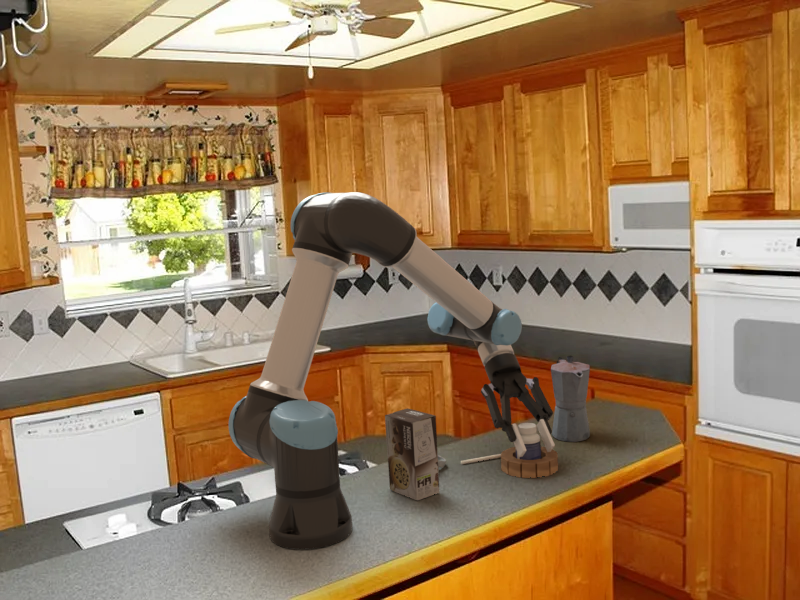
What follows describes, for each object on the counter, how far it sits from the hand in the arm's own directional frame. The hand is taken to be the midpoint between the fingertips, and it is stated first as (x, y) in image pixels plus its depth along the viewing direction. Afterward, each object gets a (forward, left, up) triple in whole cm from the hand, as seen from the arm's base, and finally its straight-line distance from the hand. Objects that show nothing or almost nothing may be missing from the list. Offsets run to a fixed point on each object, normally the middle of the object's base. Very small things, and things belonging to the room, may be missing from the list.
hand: (537, 451), depth 175 cm
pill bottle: (0, +4, -5) cm, 6 cm away
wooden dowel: (-4, +13, -5) cm, 14 cm away
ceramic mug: (-21, +15, -5) cm, 26 cm away
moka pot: (+19, +19, -5) cm, 27 cm away
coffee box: (-27, +3, -5) cm, 28 cm away
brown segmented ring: (0, +4, -5) cm, 6 cm away
